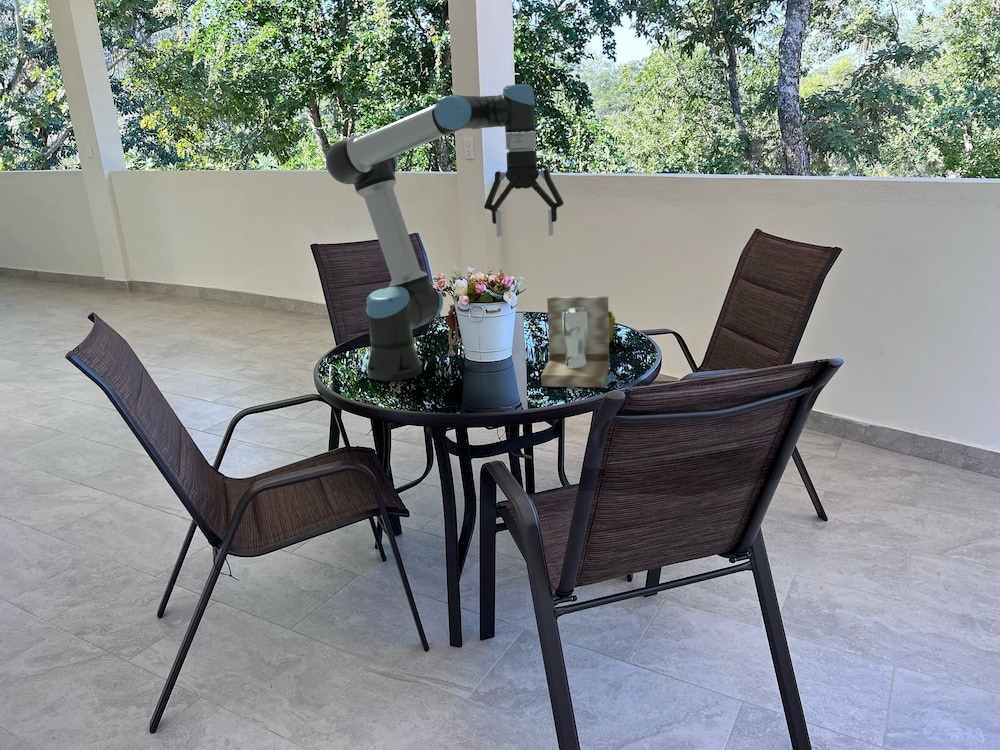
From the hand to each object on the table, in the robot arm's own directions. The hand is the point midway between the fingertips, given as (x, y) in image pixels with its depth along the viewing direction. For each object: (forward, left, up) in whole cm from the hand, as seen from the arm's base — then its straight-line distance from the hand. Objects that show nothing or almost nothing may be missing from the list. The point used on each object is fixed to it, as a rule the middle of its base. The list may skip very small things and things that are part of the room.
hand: (525, 235), depth 198 cm
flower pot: (+16, +28, -37) cm, 49 cm away
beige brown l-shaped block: (+13, -6, -37) cm, 39 cm away
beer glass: (+13, -5, -34) cm, 37 cm away
